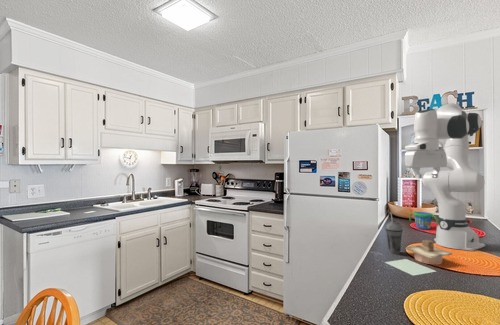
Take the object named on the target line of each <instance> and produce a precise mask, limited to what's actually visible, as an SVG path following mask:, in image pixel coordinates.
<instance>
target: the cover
mask: <svg viewBox="0 0 500 325" xmlns="http://www.w3.org/2000/svg"><path fill="white" fill-rule="evenodd" d="M434 244H435V241H432V240H429V239H423V240H421V244H419V245H414V246H406V247H405V250H407V251H410V252H413V253H414V252H415V253H418V254H421V255H423V256H426V257H429V258H435V257H441V256H442V257H447V256H452V255H453V252H450V251H447V250H444V249H440V248H437V247H435V246H434Z"/></svg>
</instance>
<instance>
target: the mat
mask: <svg viewBox="0 0 500 325" xmlns="http://www.w3.org/2000/svg"><path fill="white" fill-rule="evenodd" d="M384 264H387V265H390V266H391V267H394V268H396V269H398V270H400V271H402V272H404V273H406V274H409V275H410V276H419V275H425V274H430V273H436V272H438V271H437V270H434V269H432V268H430V267H427V266H425V265H421V264H420V263H417V262H414V261H412V260H409V259H407V258H404V259H397V260H396V259H395V260H391V261H390V260H389V261H385V262H384Z"/></svg>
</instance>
